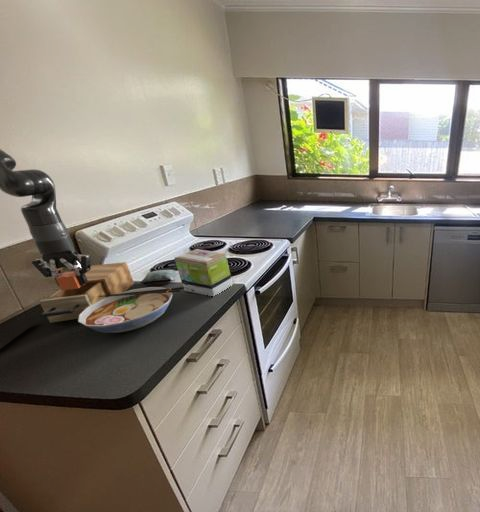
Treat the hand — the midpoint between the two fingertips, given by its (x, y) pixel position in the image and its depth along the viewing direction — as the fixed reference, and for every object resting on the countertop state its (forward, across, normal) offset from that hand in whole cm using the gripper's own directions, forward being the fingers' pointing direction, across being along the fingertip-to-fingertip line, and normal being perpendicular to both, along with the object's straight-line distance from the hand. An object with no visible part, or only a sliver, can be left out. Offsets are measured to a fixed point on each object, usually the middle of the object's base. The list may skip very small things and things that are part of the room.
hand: (74, 285), depth 95 cm
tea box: (+10, -37, -5) cm, 39 cm away
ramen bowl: (+10, -20, +14) cm, 27 cm away
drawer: (+9, 0, +2) cm, 9 cm away
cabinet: (+10, 0, -12) cm, 16 cm away
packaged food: (+10, -17, -18) cm, 27 cm away
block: (0, 0, 0) cm, 0 cm away
